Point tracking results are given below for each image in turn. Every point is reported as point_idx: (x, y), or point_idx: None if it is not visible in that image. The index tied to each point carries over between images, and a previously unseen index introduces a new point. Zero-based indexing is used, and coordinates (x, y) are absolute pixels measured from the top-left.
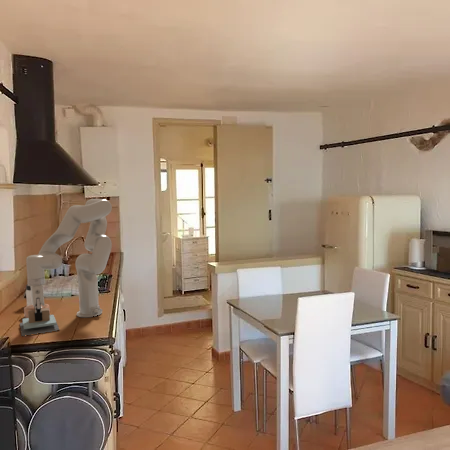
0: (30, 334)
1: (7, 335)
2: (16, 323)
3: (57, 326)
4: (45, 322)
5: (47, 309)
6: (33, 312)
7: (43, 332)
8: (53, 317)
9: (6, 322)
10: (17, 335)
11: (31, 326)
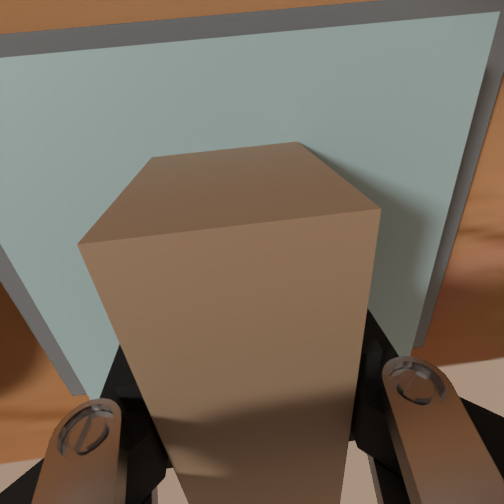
0: (435, 296)
1: None
2: (49, 405)
3: (361, 13)
4: (375, 203)
5: (280, 262)
6: (343, 459)
7: (464, 196)
8: (136, 68)
9: (12, 454)
10: None
11: (411, 331)
